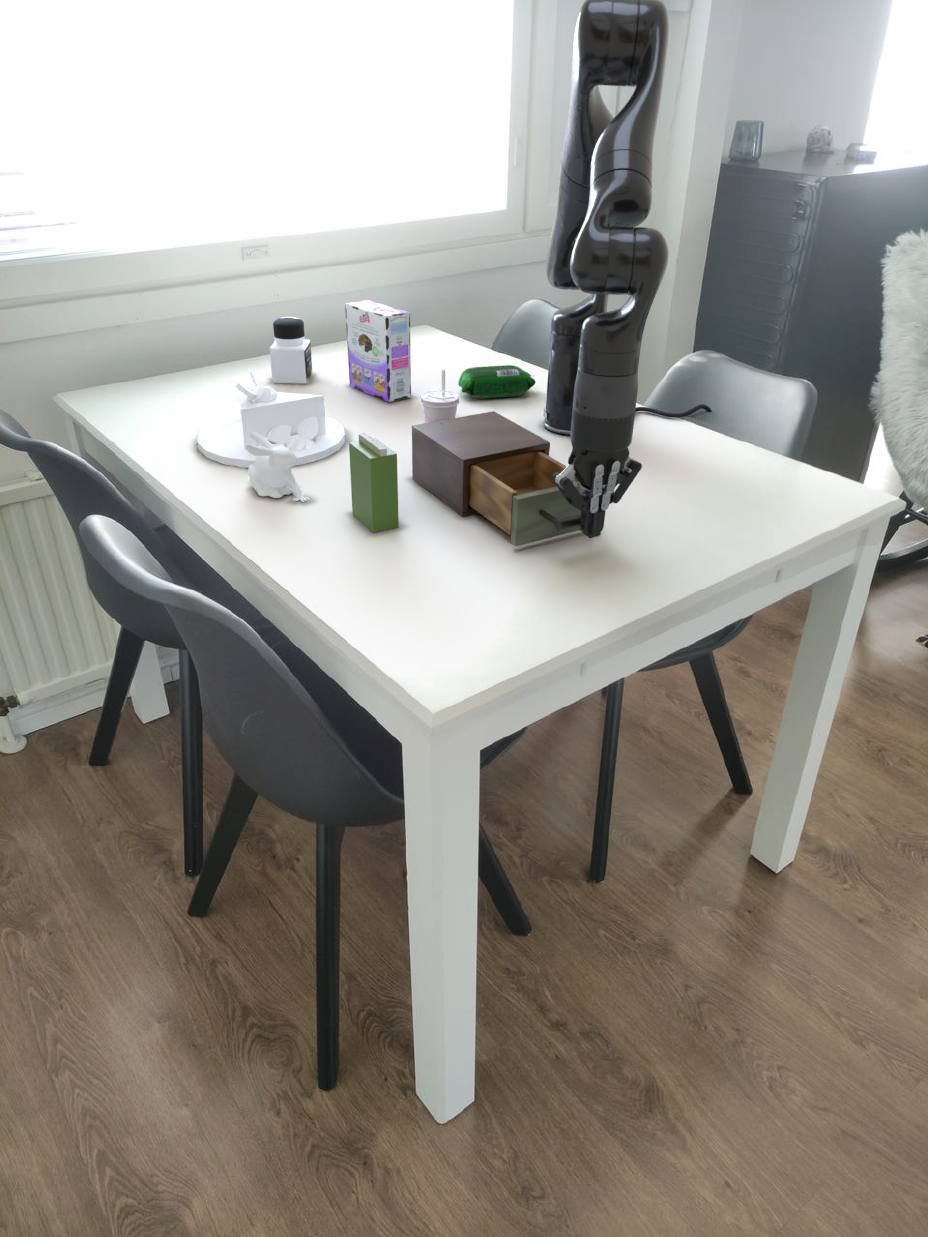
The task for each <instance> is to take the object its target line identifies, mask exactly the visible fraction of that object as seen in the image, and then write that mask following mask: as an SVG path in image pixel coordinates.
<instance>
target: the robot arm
mask: <svg viewBox="0 0 928 1237" xmlns="http://www.w3.org/2000/svg"><path fill="white" fill-rule="evenodd" d="M669 24H670V22H669V13H668V9H667V6H666V4H665V3H664V2H663V1H662V0H584V2H583V3H582V5H581V7H580V9H579V12H578V14H577V19H576V23H575V29H574V35H573V36H574V37H573V44H572V60H571V78H570V93H569V95H570V96H569V106H568V107H569V108H568V114H567V116H568V117H567V122H566V129H565V134H564V142H563V147H562V151H561V157H560V166H559V172H558V173H559V174H558V186H557V198H556V207H555V214H554V219H553V223H552V228H551V233H550V237H549V242H548V247H547V253H546V262H545V269H546V270H545V271H546V277H547V280H548V282H549V284H550V285H551V286H552V287H553V288H554V289H555V288H556V289H560V290H571V291H581V292H583V293H585V294H587V295H586V296H585V297H583V298H581V299H580V300H579V301H577V302H575V303H573V304H571V305H570V304H569V305H567V306H563V307H562V308H559V309H557V310H555V311H554V312H553V314H552V316H551V320H550V322H551V323H550V340H549V354H548V355H549V356H548V367H547V368H548V369H547V370H548V371H547V372H548V373H547V384H546V398H545V408H543V413H542V414H543V415H542V416H543V417H544V420H543V426H544V428H545V429H546V430H548V431H550V432H553V433H555V434H561V435H567V436H569V438H570V442H571V452H570V454H569V456H568V459H567V465H566V466H567V467H566V468H565V469H564V470H563V471H562V472H561V473H558V472H555V473H554V474H553V475H552V481H553V482H554V483H555V485H556V486H557V487H558V489H559V490H560V492H561V493H562V494H563V496H564V497H565V498H566V500H567V501H568V502H569V504H571V505H572V506H574V507H575V508H577V509H579V510H580V511H581V519H580V520H581V521H580V530H579V531H580V532H581V533H582V534H583V535H584V536H585V537H587V538H589V539H593V538H597V537H600V536H601V535H602V532H603V530H604V527H605V519H606V511H607V510H608V509H609V507H610V505H612V504H613V503H614V504H618V503H619V502H621V500H622V498H623V496H624V495H625V494H626V492H627V491H628V489H629V488H630V486H631V485H632V483H633V482H634V480H635V479H636V477H637V476H638V474H639V473H640V472H641V470H642V468H643V464H642V462H639V461H638V460H637V459H634V458H632V457H631V456H630V449H629V447H630V446H631V445H632V441H633V434H634V427H635V426H634V425H635V418H636V413H637V412H647V413H652V414H655V415H659V416H662V417H665V418H671V419H676V418H677V419H679V418H685V417H687V416H690V415H693V413H695V412H697V411H699V410H705V411H706V412H707V413H712V412H713V410H712V409H711V408H710V407H709V406H708V405H707V404H704V403H703V404H698V405H695V406H694V407H692V408H690V409H689V410H686V411H683V412H678V413H675V412H674V413H672V412H666V411H662V410H659V409H656V408H653V407H647V406H638V407H637V402H638V400H637V399H638V392H639V363H640V356H641V348H642V340H643V336H644V330H645V327H646V324H647V319H648V316H649V315H650V314H649V313H650V310H651V307H652V305H653V302H654V300H655V298H656V296H657V293H658V291H659V288H660V285H661V283H662V281H663V279H664V276H665V273H666V272H667V267H668V262H669V246H668V243H667V240H666V238H665V236H664V235H663V233H661V231H660V230H658V229H656V228H654V227H653V228H652V227H645V226H644V227H641V226H640V227H639V225H641V224H642V223H643V222H644V221H645V220H646V219H647V218H648V216H649V214H650V213H651V212H650V211H651V208H652V201H653V155H654V144H655V143H654V142H655V136H656V129H657V124H658V118H659V113H660V106H661V99H662V94H663V93H662V92H663V87H664V78H665V71H666V65H667V64H666V62H667V55H668V46H669V34H670V25H669ZM600 86H607V87H609V86H610V87H627V88H628V87H629V88H635V89H634V91H633V93H632V94H631V96H630V97H629V99H628V100H627V102H626V103H625V104H624V106H622V108H621V109H620V110H619V111H618V113H617V114H616V115H615V116H613V114H612V113H611V112H610V110H609V108H608V107H607V105H606V103H605V102H604V99H603V98H602V95H601V91H600V88H599V87H600ZM609 295H613V296H614V295H615V296H616V295H619V296H627V295H628V296H629V297H628V299H627V301H626V302H625V303H624V304H623V305H622V306H621V307H619V308H616V309H613V310H610V311H607V310H608V302H609ZM574 476H576V478H577V479H578V489H579V491H580V493H579V491H578V490H577V489H576V487H575V485H576V482H575V477H574Z"/></svg>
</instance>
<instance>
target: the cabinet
mask: <svg viewBox="0 0 928 1237" xmlns="http://www.w3.org/2000/svg"><path fill="white" fill-rule="evenodd" d="M550 448H551V442H550V441H548V440H546V439H545V438H543V437H541V436H539V435H537V434H535V433H534V432H532V431H531V430H529V429H527V428H525V427H523V426H521V425H520V424H518V423H516V422H515V421H513V420H510V419H509V418H507V417H505V416H503V415H502V414H500V413H498V412H496V411H495V410H493V411H487V412H481V413H475V414H471V415H470V414H469V415H465V416H464V415H463V416H458V417H456V418H452V419H447V420H441V421H435V422H430V423H425V422H424V423H420V424H414V425H411V465H412V466H411V467H412V469H411V471H412V472H411V473H412V480H413V481H414V482H416V483H417V484H418V485H420V486H421V487H422V488H423V489H425V490H426V491H428V492H429V493H430V494H432V495H433V496H434V497H435V498H437V499H438V500H439V501H441V502H442V503H444V504H445V506H448V507H449V508H450V509H451V510H453V511H454V512H455V513H457V514H458V515H459V516H461V517H462V518H463V517H468V516H472V515H476V514H480V513H479V512H477V511H476V510H475V509H473V508H472V507H471V506H469V505H468V473H469V465H470V464H474V463H479V462H484V461H489V460H494V459H499V458H504V457H509V456H514V455H519V454H524V453H528V452H533V451H538V450H539V451H541V452H543V453H544V454H546V455H548V456H550V452H551V450H550Z"/></svg>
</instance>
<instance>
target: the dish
mask: <svg viewBox="0 0 928 1237" xmlns="http://www.w3.org/2000/svg"><path fill="white" fill-rule="evenodd" d="M248 372H249V374H250V375H251V376H250V377H251V379H252V381H253V383H254V385H255V387H253V388H252V389H250V388H249V387H247V386H246V385H244V384H242V383H241V382H239V381H237V383H236V384H235V388H236V389H237V390H238V391H240V413H237V414H233V415H227V416H225V417H222V418H220V419H217V420H215V421H213V422H211V423H208V424H207V425H205V426H204V427H203V428H202V429H201V430H200V431H199V432H198V434H197V448H198V450H199V452H200V453H201V454H203V456H204V457H206V458H207V459H209V460H212V461H215V462H217V463H219V464H222V465H226V466H230V467H231V466H232V467H239V468H244V469H249V466H250V465H252V464H254V463H255V459H256V456H255V455H253V454H251V453H249V452H248V451H247V449H246V445H247V444H251V445H254V446H255V445H256V444H257V441H255V440H253V439H252V438H251V437H250V435H251V433H252V432H256V433H258V434H259V435H261V436H263V437H264V438H265V437H266V436H267V438H268V441H269V442H270V443H271V444H272V445H273V446H275V447H285V448H288V449H289V450H291V451H292V452H293V453H294V454H295V455H296V458H297V460H296V465H295V466H303V465H306V464H309V463H312V462H313V463H314V462H316V461H320V460H323V459H326V458H328V457H329V456H331V455H333V454H334V453H337V452H338V451H340V449H341V448H342V447H343V445H344V444H345V443H346V432H345V428H344V426H343V425H344V424H342V423H340V422H339V421H337V420H336V419H335V418H333V417H330V416H327V415H326V412H325V411H326V410H325V396H324V395H323V394H322V395H321V394H311V393H310V394H309V393H297V392H296V393H294V392H281V391H276V390H275V389H273V388H272V387H270V386H268V385H262V384H261V385H259V381H258V379H257V377H256V376H255V374H254V373H253V371H252V370H251V368H250V369H248ZM295 466H294V467H295Z"/></svg>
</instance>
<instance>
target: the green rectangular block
mask: <svg viewBox="0 0 928 1237" xmlns="http://www.w3.org/2000/svg"><path fill="white" fill-rule="evenodd" d="M348 450H349V451H348V452H349V453H348V454H349V471H350V472H349V474H350V490H351V493H350V494H351V512H352V515H353V516H354V517H355V518H356V519H357V520H358V521H359V522H361V523H362V524H363V525H364V526H365V527H366V528H367V529H368V530H369V531H371V532H372V533H373V534H374V533H378V532H384V531H387V530H393V529H396V528H399V526H400V525H399V524H400V522H399V482H398V479H399V478H398V453H397V452H395V451H394V450H393V449H391V448H389V446H387V445H386V444H384V443H383V442H381V441H380V440H379V439H377V438H376V437H372V436H370V435H369V434H368V433H367V432H361V433H358V440H355V441H349V442H348Z"/></svg>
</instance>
